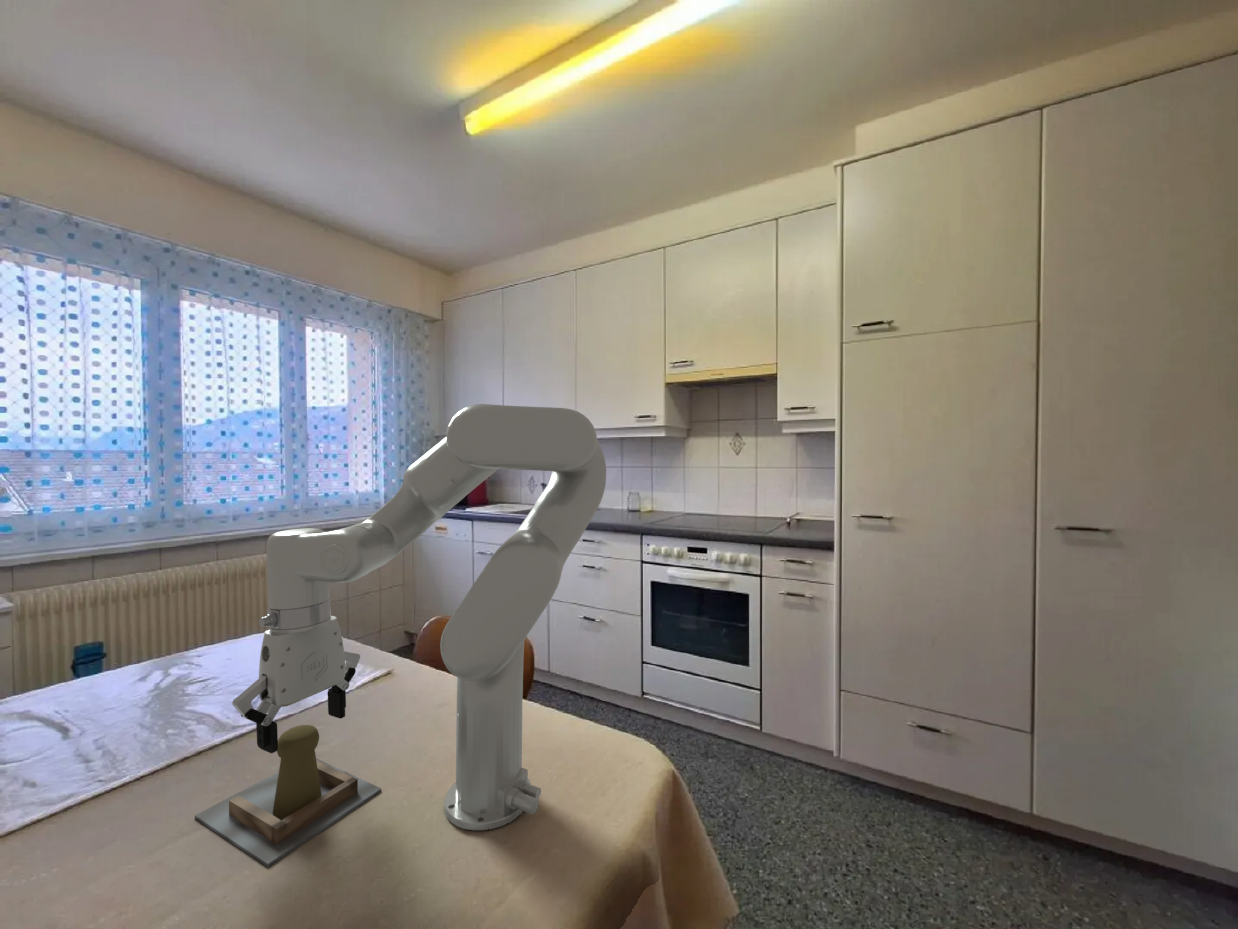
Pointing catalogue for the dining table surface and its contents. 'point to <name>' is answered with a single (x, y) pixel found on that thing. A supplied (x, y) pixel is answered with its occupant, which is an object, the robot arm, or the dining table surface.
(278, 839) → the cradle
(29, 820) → the dining table surface
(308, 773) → the cork
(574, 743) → the dining table surface
